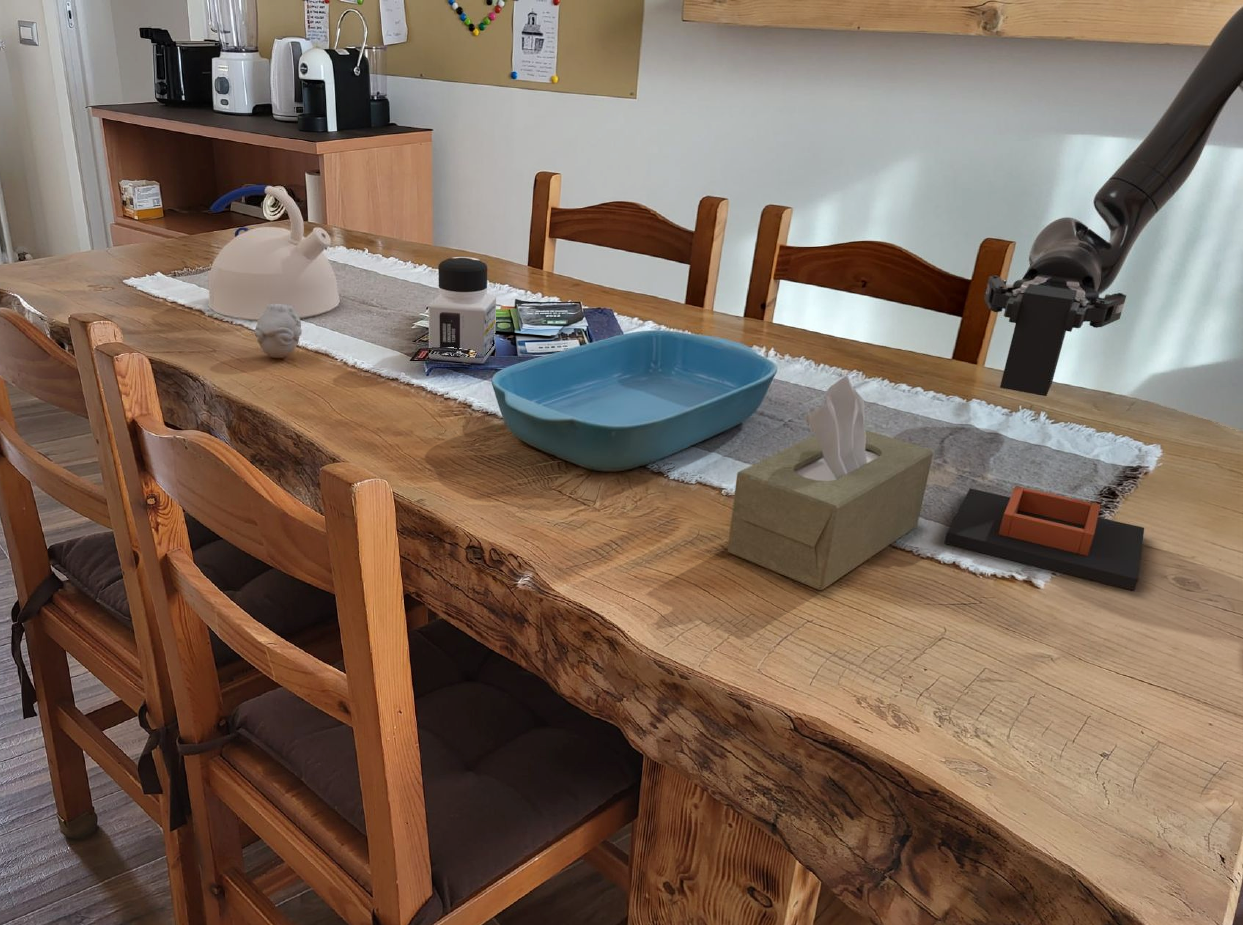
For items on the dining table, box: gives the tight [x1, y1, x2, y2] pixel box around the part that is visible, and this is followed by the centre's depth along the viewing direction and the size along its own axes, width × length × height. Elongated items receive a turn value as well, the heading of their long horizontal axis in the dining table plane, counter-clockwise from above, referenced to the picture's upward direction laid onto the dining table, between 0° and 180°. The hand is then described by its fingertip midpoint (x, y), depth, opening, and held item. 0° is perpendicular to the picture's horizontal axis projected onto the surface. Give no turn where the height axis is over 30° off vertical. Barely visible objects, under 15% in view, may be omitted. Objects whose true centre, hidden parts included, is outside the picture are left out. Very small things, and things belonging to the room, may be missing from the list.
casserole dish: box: [490, 329, 778, 473], centre depth 120 cm, size 37×22×7 cm, turn 135°
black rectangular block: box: [999, 284, 1077, 397], centre depth 106 cm, size 4×4×10 cm
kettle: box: [208, 184, 341, 322], centre depth 160 cm, size 20×21×18 cm
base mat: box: [944, 485, 1145, 592], centre depth 98 cm, size 16×12×3 cm
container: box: [427, 256, 497, 365], centre depth 141 cm, size 8×8×13 cm
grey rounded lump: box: [254, 304, 303, 359], centre depth 139 cm, size 6×7×7 cm
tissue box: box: [727, 374, 934, 591], centre depth 94 cm, size 19×10×16 cm, turn 136°
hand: (1041, 316), depth 103 cm, fingers closed on black rectangular block, 4 cm apart
